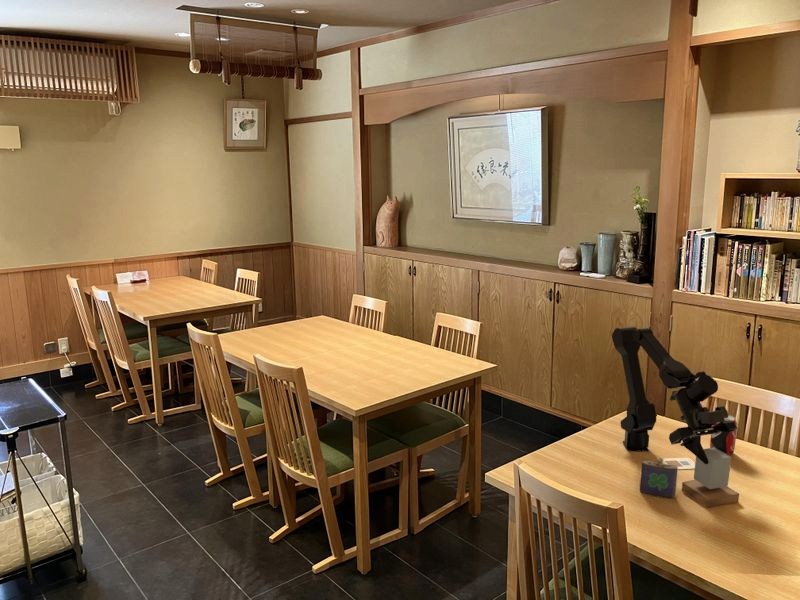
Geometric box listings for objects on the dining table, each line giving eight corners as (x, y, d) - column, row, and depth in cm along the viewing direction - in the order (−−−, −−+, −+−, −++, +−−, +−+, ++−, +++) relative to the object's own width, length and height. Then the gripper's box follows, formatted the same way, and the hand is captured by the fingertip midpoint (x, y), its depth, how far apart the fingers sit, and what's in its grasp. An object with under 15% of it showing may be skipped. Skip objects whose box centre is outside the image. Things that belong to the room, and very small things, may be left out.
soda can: (728, 448, 208) (732, 412, 205) (737, 458, 201) (741, 421, 198) (705, 447, 209) (709, 412, 206) (713, 457, 202) (717, 421, 199)
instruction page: (668, 470, 194) (668, 469, 193) (657, 459, 200) (657, 458, 200) (700, 468, 194) (700, 467, 194) (688, 458, 201) (688, 457, 201)
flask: (675, 495, 179) (678, 459, 177) (675, 500, 177) (678, 463, 174) (639, 489, 183) (642, 453, 180) (639, 494, 180) (642, 458, 178)
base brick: (681, 491, 182) (682, 482, 181) (710, 486, 185) (711, 476, 184) (708, 509, 173) (709, 499, 172) (738, 503, 176) (739, 493, 175)
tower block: (693, 478, 180) (696, 450, 178) (711, 475, 182) (714, 447, 180) (709, 489, 174) (713, 460, 172) (727, 485, 176) (731, 456, 174)
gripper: (680, 400, 174) (706, 456, 166) (736, 393, 179) (764, 446, 171) (657, 416, 183) (681, 470, 175) (712, 409, 188) (737, 461, 180)
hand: (716, 462), depth 175 cm, fingers closed on tower block, 6 cm apart
